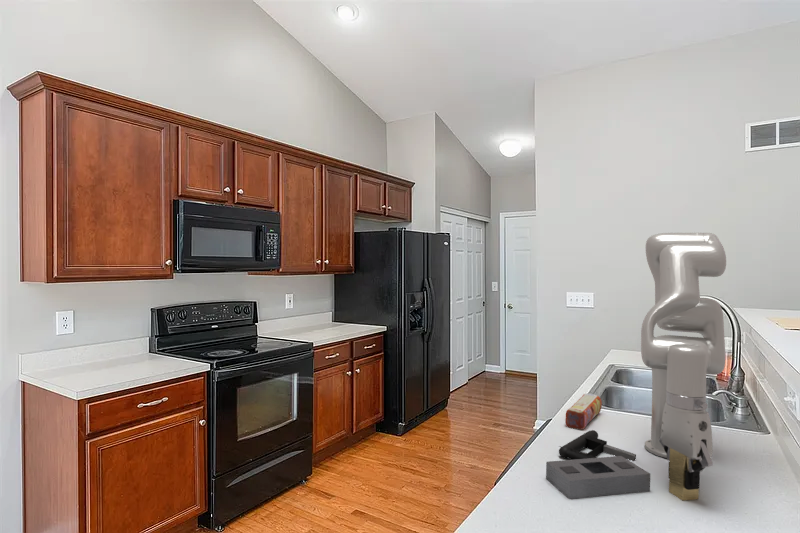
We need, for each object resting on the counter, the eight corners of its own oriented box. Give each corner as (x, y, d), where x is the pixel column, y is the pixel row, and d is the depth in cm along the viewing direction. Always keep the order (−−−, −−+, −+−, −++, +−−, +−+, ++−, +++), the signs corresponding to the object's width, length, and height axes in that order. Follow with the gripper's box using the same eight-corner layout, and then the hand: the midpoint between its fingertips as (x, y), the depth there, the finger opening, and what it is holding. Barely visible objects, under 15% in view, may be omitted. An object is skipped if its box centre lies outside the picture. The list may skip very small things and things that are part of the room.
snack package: (585, 432, 147) (585, 410, 146) (563, 427, 150) (563, 406, 150) (602, 414, 164) (602, 394, 164) (581, 410, 168) (582, 391, 168)
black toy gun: (644, 445, 131) (585, 426, 142) (615, 467, 116) (553, 444, 127) (643, 457, 131) (584, 437, 142) (614, 481, 116) (552, 457, 128)
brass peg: (684, 490, 109) (685, 446, 109) (698, 499, 106) (699, 453, 105) (668, 492, 109) (669, 447, 108) (682, 500, 105) (683, 454, 105)
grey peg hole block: (620, 472, 118) (621, 455, 118) (649, 491, 109) (650, 473, 109) (546, 478, 114) (546, 461, 114) (569, 499, 105) (569, 480, 104)
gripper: (733, 412, 99) (731, 500, 100) (671, 390, 116) (669, 466, 116) (702, 414, 98) (700, 504, 98) (644, 391, 114) (642, 469, 114)
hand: (683, 482), depth 107 cm, fingers closed on brass peg, 4 cm apart
